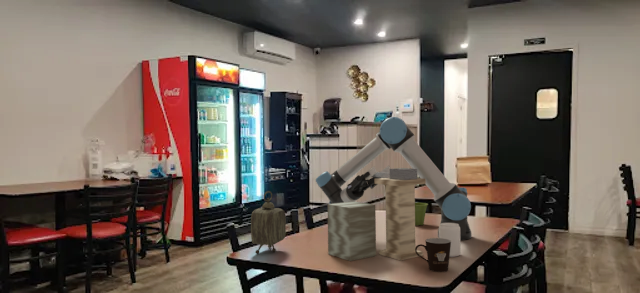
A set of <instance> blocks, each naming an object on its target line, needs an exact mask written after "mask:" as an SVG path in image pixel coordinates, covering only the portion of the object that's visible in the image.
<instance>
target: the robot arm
mask: <svg viewBox="0 0 640 293" xmlns="http://www.w3.org/2000/svg"><path fill="white" fill-rule="evenodd" d="M415 140H416V135H415V134H414V132H413V131H412V130H411V128H409V127H408V126H407V124H406V122H405V121H404V120H403V119H402V118H400V117H398V116H390V117H387V118H386V119H385V120H383V122H381V124H380V127H379V131H378V132H377V133H376V135H375V137H374V138H373V139H372V140H371V141H369V142H368V143H367V144H366V145H365V146H364V147H362V148H361V149H360V150H359V151H358V152H356V153H355V154H354V155H353V156H352V157H351V158H349V159H348V160H347V161H346V162H344V163H343V165H341V166H340V167H338V168H337V169H336V170H335V171H334V172H332V173H330V172H329V171H324V172H322V173H321V174H320V175H318V176H317V177H316V179H315V182H316V184H317V185H318V188H320V189H321V191H322V193H323V194H324V195H325V196H326V197H327V198H328V200H329V202H328V204H334V203H343V202H352V201H353V202H357V201H358V200H359V199H360V198H362V197H363V196H364V193H365V191H367V189H369V188H370V189H371V190H373V189H374V188H375V187H376V186H378V185H379V184H375V181H374V179H379V177H372V176H373V175H374V174H375V173H377V172H378V171H377V169H376V166H375V165H374V166H372V167H371V168H370V169H368V170H367V171H366V172H364V174H361V175H360V174H359V175H357V173H359V172H360V171H361V170H362V169H364V168H365V167H367V165H369V164H370V163H372V161H374V160H375V159H376V158H378V156H379V155H381V154H383V153H384V152H385V151H386V150H392V151H393V152H394V153H399V154H400V155H401V157H403V159H404V160H405V161H406V162H407V164H408V165H409V166H410V168H412V169H417V177H418V178H422V179H426V184H425V185H426V187H427V188H428V189H429V190H430V191H431V193H432V194H433V196H434V197H433V201H434V202H435V203H436V204H437V205H438V207H439V208H440V209H441V210H440V212H441V213H440V216H441V217H440V219H441V221H440V223H439V225H440V224H441V223H456V224H459V227H460V241H465V240H470V239H472V237H473V236H472V235H473V234H472V230H471V227H470V224H469V221H468V216H469V214H470V213H471V209H472V205H471V201H470V199H469V197H468V191H467V190H468V189H467V188H466V187H462V186H461V187H459V186H458V185H457V184H456V183H453V182H452V183H451V182H450V181H449V180H448V179H447V177H446V176H445V175H444V174H443V173H442V172H441V170H440V169H439V168H438V167H437V165H436V164H435V163H434V162H433V161H432V159H431V158H430V157H429V156H428V155H427V153H426V152H425V151H424V149H422V147H421V146H420V145H419V143H417V141H415ZM390 169H392V168H391V167H390V165H387V166H386V167H384V168H383V169H382V170H380V172H385V173H390ZM355 175H356V177H354V176H355ZM353 177H354V179H352V178H353ZM350 179H352V180H351V182H350V183H348V184H347V186H345V188H343V189H342V188H341V187H342V186H343V185H345V184H346V183H347V182H348V181H349V180H350ZM437 238H439V228H438V229H437Z"/></svg>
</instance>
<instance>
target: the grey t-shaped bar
mask: <svg viewBox="0 0 640 293" xmlns="http://www.w3.org/2000/svg"><path fill="white" fill-rule="evenodd" d="M373 177H379V178H390V179H396V180H412V179H417V178H418V175H417V169H413V168H412V167H410V168H408V167H406V168H405V167H399V168H398V167H397V168H391V169H390V173H385V172H381V171H377V173H375V174H374V175H373V176H372V177H371V178H373Z"/></svg>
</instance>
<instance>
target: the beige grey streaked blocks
mask: <svg viewBox="0 0 640 293" xmlns="http://www.w3.org/2000/svg"><path fill="white" fill-rule="evenodd" d="M374 181H375V184H378V185H384V186H385V188H384V190H385V196H384V197H385V244H386V245H385V249H381V250H380V249H379V250H378V255H380V256H383V257H387V258H392V259H395V260H398V261H405V260H409V259H413V258H414V259H415V258H418V257H419V256H418V255H417V254H416V252H415V248H416V225H415V203H416V198H415V197H416V196H415V195H416V194H415V191H416V190H415V189H416V187H415V186H417V185H426V179H422V178H420V177H417V179H412V180H396V179H390V178H379V179H374ZM376 213H377V212H376V204H372V203H367V202H365V203H364V202H360V201H359V202H358V201H355V202H353V201H352V202H343V203H334V204H329V203H327V247H328V248H327V250H328V252H327V254H328V255H330V256H333V257H337V258H340V259H342V260H347V261H349V262H352V261H357V260H362V259H367V258H373V257H377V234H376V233H377V229H376V225H377V224H376V223H377V222H376ZM417 253H418V254H419V255H420V256H422V257H423V256H424V252H423V251H421V250H418V249H417ZM419 258H420V257H419Z"/></svg>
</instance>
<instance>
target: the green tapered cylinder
mask: <svg viewBox="0 0 640 293" xmlns="http://www.w3.org/2000/svg"><path fill="white" fill-rule="evenodd" d="M428 205H429V204H428V203H426V202H415V226H423V225H425V218H426V211H427V208H428Z"/></svg>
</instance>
